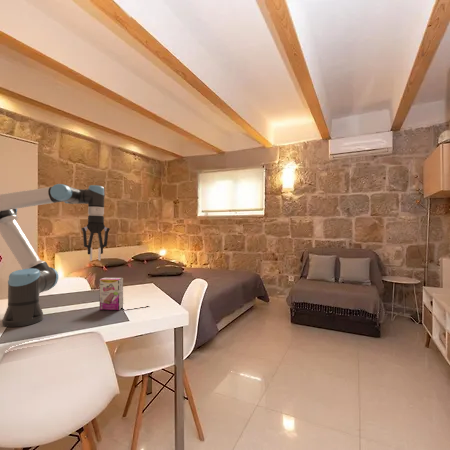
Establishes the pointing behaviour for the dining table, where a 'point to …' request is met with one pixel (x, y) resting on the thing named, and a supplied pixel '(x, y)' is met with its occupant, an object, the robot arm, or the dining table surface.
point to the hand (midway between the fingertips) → (95, 260)
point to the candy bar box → (111, 293)
